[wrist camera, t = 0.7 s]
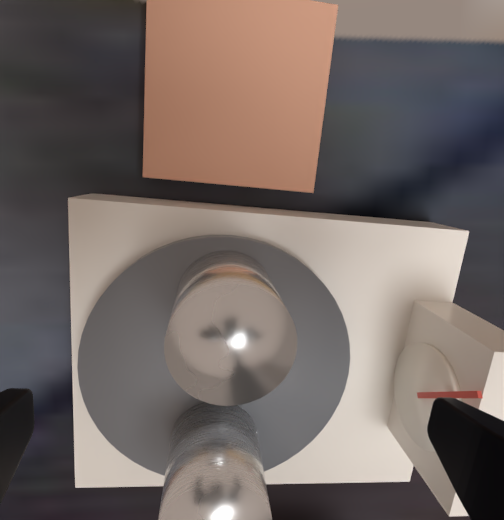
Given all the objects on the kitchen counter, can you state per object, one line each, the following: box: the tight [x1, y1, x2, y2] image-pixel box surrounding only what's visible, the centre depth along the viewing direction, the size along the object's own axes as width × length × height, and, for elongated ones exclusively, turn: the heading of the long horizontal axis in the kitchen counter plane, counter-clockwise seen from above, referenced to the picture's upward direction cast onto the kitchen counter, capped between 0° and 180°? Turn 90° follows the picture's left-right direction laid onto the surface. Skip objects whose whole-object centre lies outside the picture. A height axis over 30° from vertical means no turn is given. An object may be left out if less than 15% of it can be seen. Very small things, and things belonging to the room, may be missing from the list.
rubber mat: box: [143, 0, 338, 193], centre depth 16 cm, size 8×8×1 cm
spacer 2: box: [158, 402, 272, 520], centre depth 14 cm, size 4×4×4 cm
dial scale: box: [68, 193, 504, 516], centre depth 16 cm, size 14×18×8 cm
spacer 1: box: [164, 250, 297, 406], centre depth 13 cm, size 4×4×4 cm
